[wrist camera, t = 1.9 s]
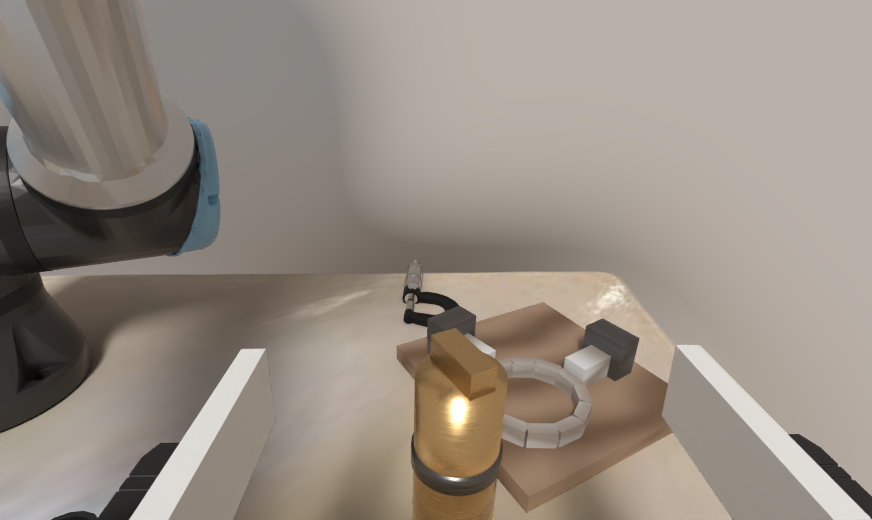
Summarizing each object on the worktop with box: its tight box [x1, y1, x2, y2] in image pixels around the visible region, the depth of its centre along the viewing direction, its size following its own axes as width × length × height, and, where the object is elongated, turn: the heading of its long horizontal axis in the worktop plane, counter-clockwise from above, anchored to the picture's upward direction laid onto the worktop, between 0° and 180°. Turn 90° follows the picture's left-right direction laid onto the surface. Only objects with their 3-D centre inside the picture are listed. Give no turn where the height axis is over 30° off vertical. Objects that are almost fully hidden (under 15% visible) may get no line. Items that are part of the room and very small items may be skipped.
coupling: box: [411, 328, 508, 520], centre depth 29 cm, size 5×5×15 cm
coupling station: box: [397, 302, 673, 512], centre depth 45 cm, size 20×19×5 cm
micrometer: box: [403, 260, 459, 327], centre depth 61 cm, size 15×7×3 cm, turn 179°
